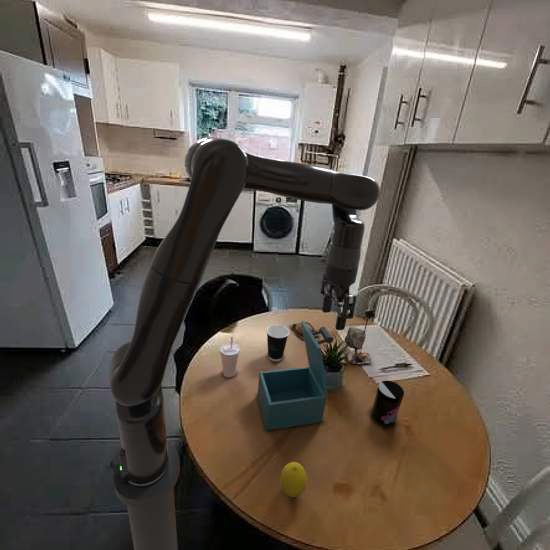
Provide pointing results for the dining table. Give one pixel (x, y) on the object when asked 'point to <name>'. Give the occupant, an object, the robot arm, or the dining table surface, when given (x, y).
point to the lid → (316, 353)
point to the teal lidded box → (290, 397)
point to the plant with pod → (358, 342)
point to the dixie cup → (276, 341)
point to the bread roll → (299, 330)
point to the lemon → (293, 479)
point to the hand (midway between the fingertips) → (332, 320)
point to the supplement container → (387, 402)
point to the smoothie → (229, 358)
